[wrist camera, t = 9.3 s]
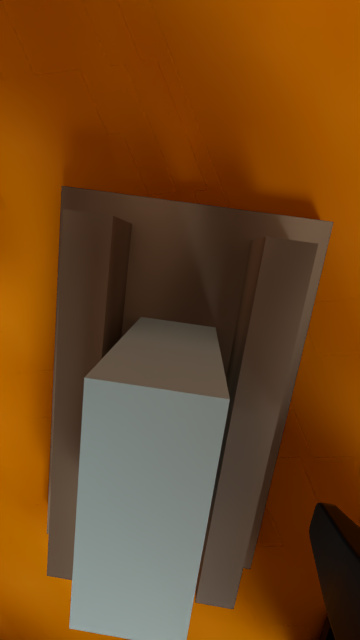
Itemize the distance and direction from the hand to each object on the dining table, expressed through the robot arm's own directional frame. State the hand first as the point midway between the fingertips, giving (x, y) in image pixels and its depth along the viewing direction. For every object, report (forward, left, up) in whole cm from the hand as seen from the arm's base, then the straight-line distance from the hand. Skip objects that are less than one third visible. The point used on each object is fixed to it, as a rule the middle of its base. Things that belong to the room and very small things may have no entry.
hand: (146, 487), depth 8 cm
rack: (0, 0, -6) cm, 6 cm away
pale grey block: (0, 0, -5) cm, 5 cm away
